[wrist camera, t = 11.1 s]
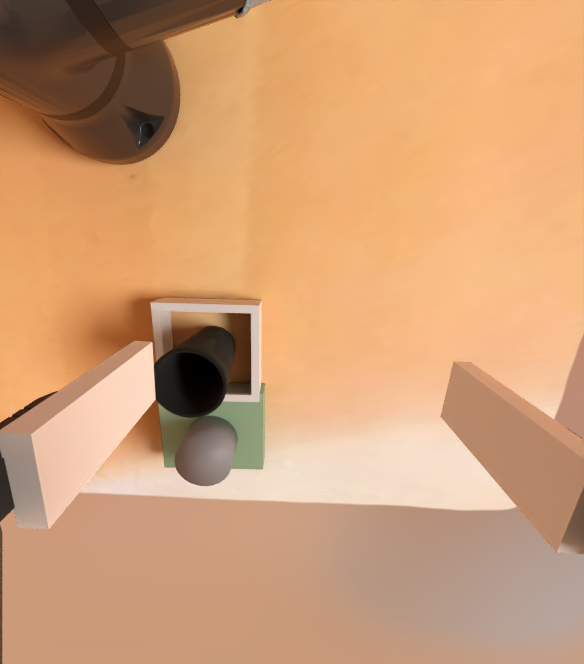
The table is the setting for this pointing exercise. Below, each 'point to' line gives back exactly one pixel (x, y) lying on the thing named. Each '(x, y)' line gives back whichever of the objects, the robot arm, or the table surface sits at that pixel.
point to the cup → (195, 373)
